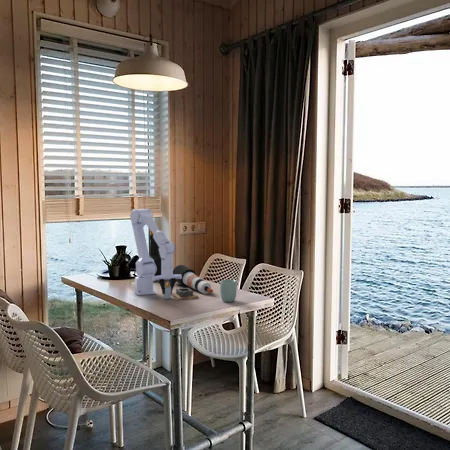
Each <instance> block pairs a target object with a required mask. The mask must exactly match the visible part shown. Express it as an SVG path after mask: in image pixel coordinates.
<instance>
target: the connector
mask: <svg viewBox="0 0 450 450" xmlns="http://www.w3.org/2000/svg"><path fill="white" fill-rule="evenodd" d="M162 296H163V299H165V300H167V299H171V298H172V295H171V287H170V285H169V283H167V282H165V294H164V295H163V294H162Z"/></svg>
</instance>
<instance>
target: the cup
mask: <svg viewBox="0 0 450 450" xmlns="http://www.w3.org/2000/svg"><path fill="white" fill-rule="evenodd" d="M219 285H220V288H219V289H220V290H219V293H220V299H221V301H222V302H225V303H233V302H234V301H235V300H236V297H237V291H238V288H237V285H238V283H237V280H235V279H221V280H220V284H219Z"/></svg>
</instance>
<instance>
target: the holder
mask: <svg viewBox="0 0 450 450" xmlns="http://www.w3.org/2000/svg"><path fill="white" fill-rule="evenodd" d="M171 297H173V298H174V299H175V300H176V301H181V300H183V301H184V300H194V299H199V296H198V295H197V294H196V293H194V290H192V288H191V287H181V288H180V287H179V288H176V289H175V292H172V294H171Z"/></svg>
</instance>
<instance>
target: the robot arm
mask: <svg viewBox="0 0 450 450" xmlns="http://www.w3.org/2000/svg"><path fill="white" fill-rule="evenodd" d="M129 217H130V223H131V227H132V231H133V236H134V242H135V246H136V250H137V254H138V259H137V260H136V262H135V273H136V276H135V277H134V293H135V294H136V295H137V296H145V295H154V294H155V295H156V292H155V291H154V282H155V280H157V281H158V283H159V286H160V288H161V292H162V296H163V295H164V294H165V284H166V281H165V280H168V282H169V286H170V287H171V294H172V293H173V290H174V287H175V285H176V283H177V282H176V279H182V275H181V274H173V270H174V253H175V252H176V244H175V243H174V242H173V241H171V240H169V239H168V237H167V235H166V233H165V232H164V231H163V230H160V229H159V227H158V225H157V223H156V221H155V220H154V213H153V212H152V211H151V209H150V208H138V209H137V208H133V209H132V210H131V212H130V214H129ZM145 226H146V227H147V228H148V229H149V231H150V230H151V231H152V233H153V234H154V235H153V238H154V240H155V241H156V243H157V244H158V246H159V253H160V257H161V275H158V276H155V273H156V271H157V267H156V265H155V263H154V260H153V259H152V258H151V257H149V255H150V252H149V248H148V245H147V244H148V243H147V239H146V234H145V230H144V228H145ZM143 263H147V264H143Z"/></svg>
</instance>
